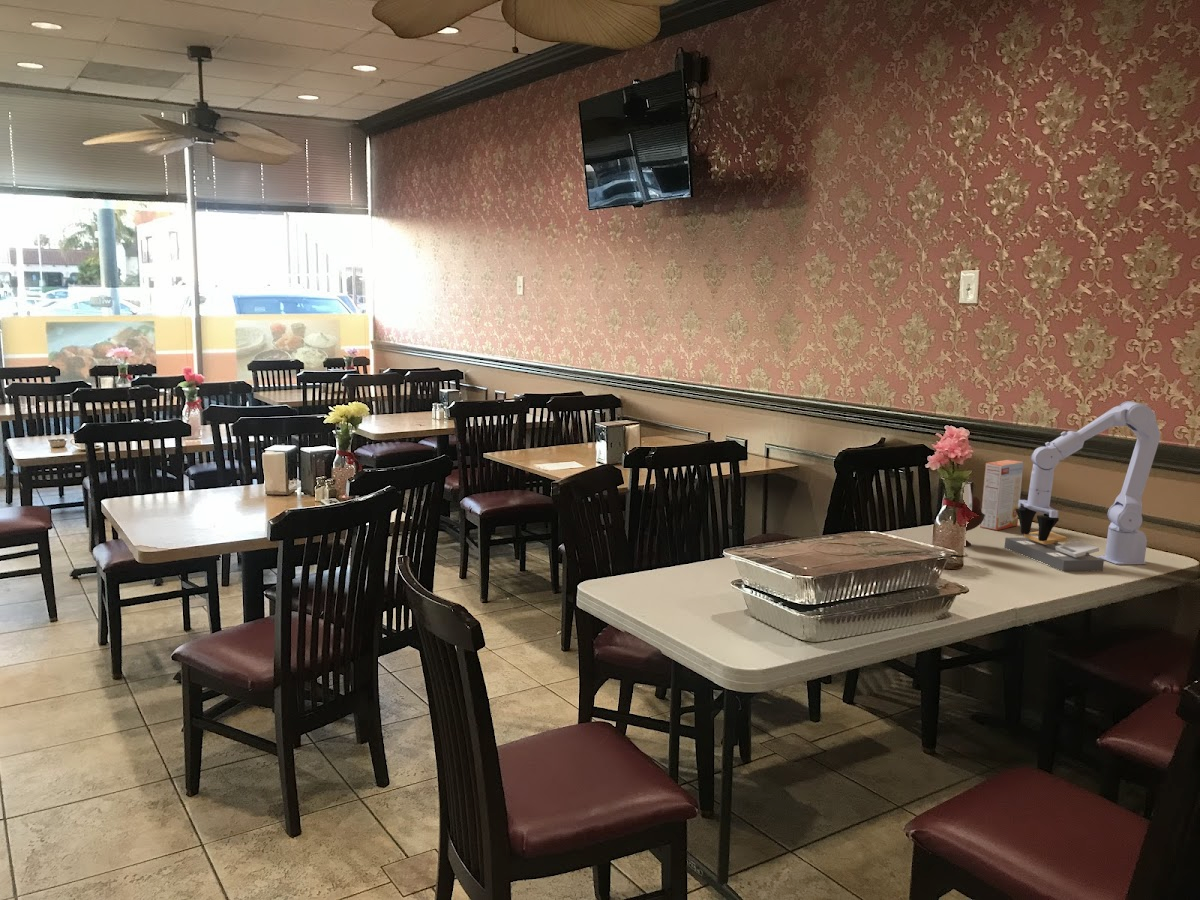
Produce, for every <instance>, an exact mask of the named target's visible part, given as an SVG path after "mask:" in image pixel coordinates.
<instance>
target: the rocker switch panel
mask: <svg viewBox="0 0 1200 900" xmlns="http://www.w3.org/2000/svg"><path fill="white" fill-rule="evenodd" d="M1004 541H1005V542H1004V547H1003V548H1004V549H1006V548H1007V549H1006V550H1009V549H1010V550H1009V551H1011V550H1012V552H1013V551H1015V552H1014V553H1016V552H1018V553H1020V554H1019V555H1021V554H1023V555H1025V556H1024V557H1026V556H1028V557H1030V558H1029V559H1031V558H1033V559H1035V560H1038V561H1041V562H1043V563H1045V564H1048V565H1050V566H1052V567H1051V568H1053V567H1055V568H1057V569H1059V570H1058V571H1060V570H1062V571H1078V572H1103V571H1104V564H1105V560H1104V559H1101V558H1098V557H1097V556H1094V555H1091V554H1089V556H1088V557H1087V556H1084V555H1083V556H1080V557H1076V558H1075V557H1073V556H1070V555H1068V554H1065V553H1062V552H1060V551H1057V550H1056V548H1055V546H1059V545H1063V543H1060V542H1058V544H1057V545H1054V544H1046V545H1044V544H1041V543H1039V542H1036V541H1034V540H1031V539H1028V538H1026V537H1005V539H1004ZM1018 553H1017V554H1018ZM1023 555H1022V556H1023ZM1028 557H1027V558H1028ZM1033 559H1032V560H1033ZM1035 560H1034V561H1035ZM1038 561H1037V562H1038ZM1043 563H1042V564H1043ZM1045 564H1044V565H1045ZM1048 565H1047V566H1048ZM1050 566H1049V567H1050ZM1055 568H1054V569H1055ZM1057 569H1056V570H1057ZM1062 571H1061V572H1062Z"/></svg>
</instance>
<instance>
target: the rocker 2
mask: <svg viewBox="0 0 1200 900" xmlns="http://www.w3.org/2000/svg"><path fill="white" fill-rule="evenodd" d="M1055 548H1056V550H1057V551H1060V552H1062V553H1065V554H1068V555H1070V556H1073V557H1075V558H1076V557H1080V556H1083V555H1084V556H1087V557H1088V556H1089V555H1091V554H1094V553H1097V552H1099V551H1100V549H1099V547H1098V546H1095V545H1092V544H1089V543H1087V542H1083V541H1081V540H1075V541H1071V542H1070V541H1069V542H1067V543H1062V545H1059V546H1055Z"/></svg>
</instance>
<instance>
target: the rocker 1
mask: <svg viewBox="0 0 1200 900" xmlns="http://www.w3.org/2000/svg"><path fill="white" fill-rule="evenodd" d="M1038 533H1039V530H1038V531H1037V530H1036V531H1033V532H1032V531H1030V533H1029V534H1023V535H1024V536H1023V538H1028V539H1031V540H1034V541H1036V542H1039V543H1041V544H1044V545H1046V544H1054V545H1057V544H1058V543H1062V542H1063V543H1065V542H1067V541H1068V537H1067V536H1065V535H1061V534H1059V533H1056V532H1054V531H1051V532H1050V534H1049V536H1048V538H1047V540H1046V541H1039V539H1038Z"/></svg>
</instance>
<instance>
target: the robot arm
mask: <svg viewBox="0 0 1200 900" xmlns="http://www.w3.org/2000/svg"><path fill="white" fill-rule="evenodd" d="M1112 427H1128V428H1130V430H1131V431H1132V433H1133V434H1134V435H1135V437H1136V438H1137V439H1136V442H1135V445H1134V448H1133V451H1132V455H1131V458H1130V461H1129V465H1128V467H1127V471H1126V473H1125V478H1124V481H1123V483H1122V487H1121V491H1120V493H1119V494H1118V495H1117V496H1116V497H1115V500H1114V502H1113V504H1111V506H1110V507H1109V508H1108V509H1107V510H1108V511H1107V518H1108V521H1110V524H1109V525H1108V529H1107V537H1106V545H1105V552H1104V555H1103V554H1102V555H1097V556H1096V557H1097V558H1100V559H1102V560H1104V561H1107V562H1110V563H1112V564H1114V565H1147V561H1145V560H1146V559H1145V558H1146V554H1147V553H1146V552H1147V545H1148V544H1147V543H1148V539H1147V535H1146V533H1145V532H1143V531H1142V530H1140V527H1141V526H1142V524H1143V515H1142V513H1143V512H1142V511H1143V500H1142V497H1143V494H1144V491H1145V489H1146V485H1147V483H1148V482H1147V481H1148V479H1149V476H1150V472H1151V469H1152V465H1153V462H1154V459H1155V455H1156V453H1157V449H1158V447H1159V444H1160V440H1161V432H1160V429H1159V425H1158V422H1157V415H1156V413H1155V412H1154V411H1153V410H1152V409H1151V407H1150V406H1148V405H1146V404H1144V403H1138V402H1135V401H1133V400H1127V401H1124V402H1122V403H1120V405H1116V406H1114V407H1112V408H1110V409H1109V410H1107V411H1105V413H1103V414H1102V415H1100V416H1099V417H1096V418H1095V419H1094V420H1092V421H1091V422H1089V423H1088V424H1086V425H1084V426H1083V427H1082V428H1080V429H1079V430H1077V431H1075V430H1068V431H1066V430H1065V431H1062V432H1061V433H1060V436H1058V437H1056V438H1055V439H1053V440H1052V441H1050V442H1049V441H1047V442H1044V445H1045V446H1038V447H1037V448H1035V449H1034V450H1033V452H1032V454H1030V458H1031V461H1032V463H1033V464H1032V469H1031V473H1030V481H1029V488H1028V496H1027V500H1026V499H1020V500H1019V503H1018V506H1019V508H1016V512H1017V515H1018V522H1019V525H1020V526H1019V527H1020V533H1021V534H1022V535H1024V534H1029V533H1031V529H1032V524H1033V520H1034V518H1035V515H1036V514H1037V513H1038V514H1039V515H1036V518H1037V524H1038V531H1039V533H1038V539H1039V541H1046V540H1047V538H1048V536H1049V534H1050V532H1052V530H1053V528H1054V527H1055V525H1056V524H1057V523H1058V522H1059V520H1060V519H1059V510H1057V509H1054V508H1053V507H1052V506H1050V505H1051V499H1052V497H1051V496H1052V491H1053V485H1054V483H1053V482H1054V476H1055V475H1054V472H1055V468H1056V467H1057V466H1058V465H1059V463H1060V461H1063V460H1065V459H1066V458H1067V457H1070V456H1071V455H1073V454H1075V453H1076V452H1077V451H1080V450H1081V449H1083V447H1084V443H1085V441H1088V440H1090V439H1091V438H1093V437H1094V436H1097V435H1099V434H1100V433H1102V432H1104V431H1106V430H1107V429H1110V428H1112ZM1040 514H1042V515H1040Z"/></svg>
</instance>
